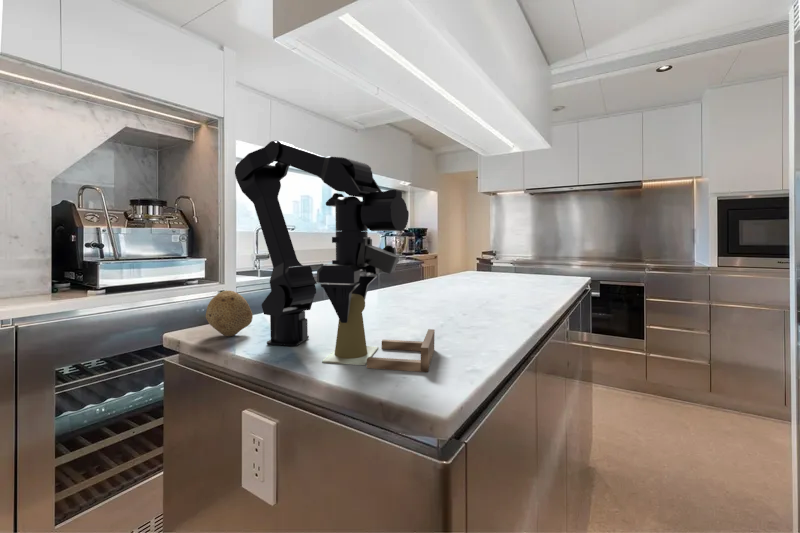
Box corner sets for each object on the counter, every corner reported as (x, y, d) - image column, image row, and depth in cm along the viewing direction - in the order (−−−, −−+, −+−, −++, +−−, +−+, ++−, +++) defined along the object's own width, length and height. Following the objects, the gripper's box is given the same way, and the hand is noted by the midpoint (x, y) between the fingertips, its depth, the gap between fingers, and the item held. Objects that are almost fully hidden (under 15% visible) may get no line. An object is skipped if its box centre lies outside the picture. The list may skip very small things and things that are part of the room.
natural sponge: (196, 337, 82) (195, 291, 81) (233, 328, 89) (232, 286, 88) (222, 343, 77) (221, 294, 76) (259, 334, 85) (258, 289, 84)
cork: (351, 360, 66) (351, 298, 65) (327, 354, 69) (327, 294, 68) (374, 352, 71) (374, 293, 70) (350, 346, 74) (350, 290, 73)
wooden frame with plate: (319, 364, 65) (319, 341, 64) (342, 344, 77) (342, 325, 76) (427, 372, 61) (428, 347, 61) (434, 349, 74) (434, 329, 73)
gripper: (384, 230, 58) (384, 331, 59) (404, 232, 76) (403, 309, 77) (315, 230, 60) (316, 328, 61) (350, 232, 78) (351, 307, 79)
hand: (352, 317), depth 69 cm, fingers open, 9 cm apart
